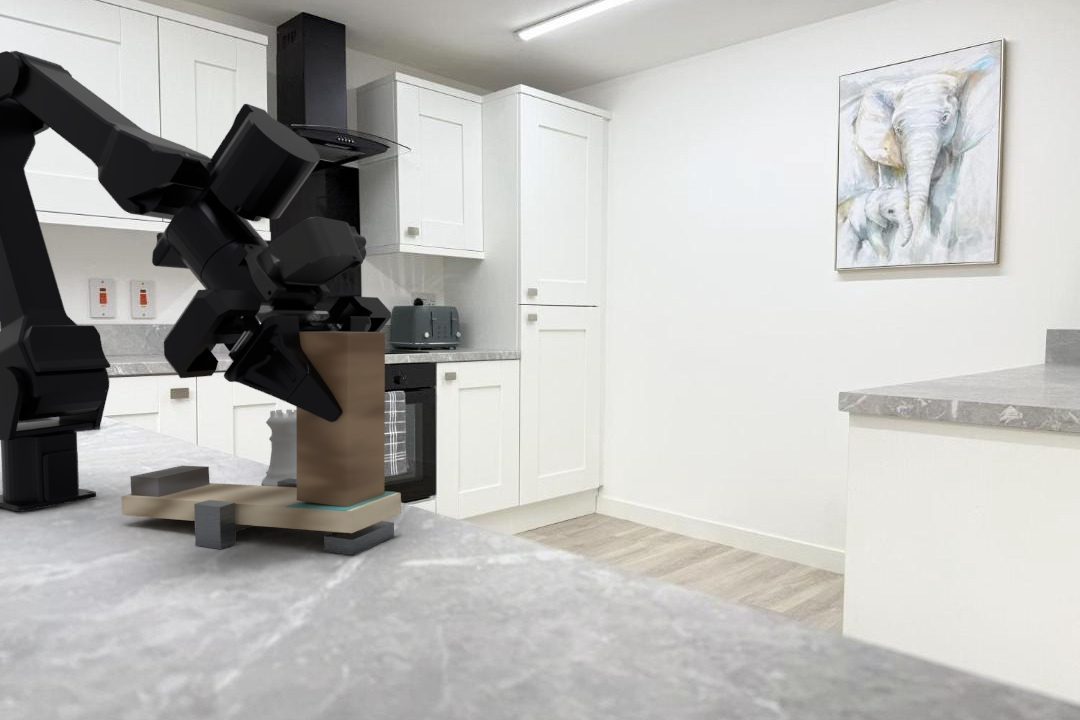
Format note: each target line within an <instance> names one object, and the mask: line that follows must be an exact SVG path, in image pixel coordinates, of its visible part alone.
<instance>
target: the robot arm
mask: <svg viewBox="0 0 1080 720" xmlns="http://www.w3.org/2000/svg"><path fill="white" fill-rule="evenodd" d="M49 129H51V130H52V131H54V132H55V133H56V134H57V135H59V136H60V137H61V138H62V139H64V140H65V141H66V142H67V143H69V144H70V145H71V146H73V147H74V148H75V149H76V150H78V151H79V152H81V154H83V155H84V156H85V157H87V158H88V159H89V160H90V161H91V162H92V163H93V164H94V166H96V167H97V180H98V182H99V184H100V185H101V187H103V189H104V190H105V191H106V192H107V193H108V195H109V196H110V197H111V198H112V199H113V201H115V203H116V204H117V206H119V208H121V209H122V210H123V211H124V212H126V213H128V214H130V215H136V216H144V217H152V218H157V219H164V220H170V222H169V223H168V225H167V226H166V227H165V229H164V231H163V232H158V233H157V234H156V245H155V247H154V248H153V251H152V254H151V255H152V256H151V258H152V259H151V263H152V266H155V267H163V268H175V269H188V270H190V272H191V273H192V274H193V275H194V276H195V278H196V279H197V280H198V282H199V283H200V284H201V286H203V288H204V289H198V290H197V291H196V293H195V294H194V295H193V297H192V298H191V300H190V301H189V303H188V304H187V306H186V307H185V309H183V311H182V313H181V314H180V316H179V317H178V318H177V320H176V322H175V323H174V325H173V326H172V327H171V329H170V330H169V332H168V333H167V334H166V336H165V338H164V340H163V355H164V358H165V360H166V362H167V363H168V364H169V365H170V367H171V368H172V369H173V370H174V372H175V373H176V374H177V376H178V377H179V378H180V379H190V378H201V377H203V378H204V377H212V376H213V375H214V373H215V372H216V370H217V368H218V364H219V360H218V359H217V358H216V356H215V355H214V353H212V351H213V350H214V348H215V347H216V345H224V347H225V348H226V349H227V350H228V351H229V353H228V356H229V358H230V359H231V360H232V362H231V363H230V365H229V366H228V368H227V369H226V370H225V372H224V374H223V377H224V379H225V380H226V381H227V382H230V383H235V382H236V383H239V384H241V385H244V386H247V387H249V388H251V389H254V390H256V391H258V392H262V393H264V394H267V395H269V396H271V397H273V398H277V399H279V400H281V401H283V402H286V403H288V404H290V405H292V406H293V407H298V408H301V409H303V410H305V411H307V412H309V413H312V414H314V415H316V416H318V417H320V418H323V419H325V420H327V421H329V422H335V421H337V419H338V418H339V417H340V416H341V414H342V409H341V407H340V405H339V403H338V402H337V400H336V398H335V397H334V395H333V393H332V392H331V390H330V389H329V387H328V386H327V385H326V383H325V382H324V380H323V379H322V377H321V376H320V374H319V373H318V371H317V370H316V369H315V367H314V366H313V364H312V363H311V361H310V360H309V358H308V357H307V356H306V354H305V353H304V351H303V350H302V348H301V343H300V333H299V332H319V331H347V332H381V331H382V329H384V327H385V326H386V325H387V323H388V322H389V320H390V319H391V318H392V311H390V309H388V307H387V305H385V304H384V303H383V301H381V299H380V298H379V297H375V296H374V297H373V296H354V295H353V296H350V295H349V296H339V298H338V299H337V300H336V302H335V303H334V304H333V306H332V307H331V308H330V309H329V311H326V310H318V309H317V308H316V307H317V305H318V304H320V303H323V302H325V300H326V298H327V297H328V295H330V293H331V290H330V289H329V288H328V287H327V285H326V284H327V283H330V282H332V281H333V280H335V279H336V278H338V277H339V276H341V275H342V274H344V273H345V272H347V271H349V270H351V269H353V270H354V269H357V268H358V267H360V266H361V265H362V264H363V263H364V260H365V259H366V256H367V250H366V245H367V239H366V237H365V236H363V235H360V234H359V233H358V231H357V229H356V227H355V226H351V225H349V223H348V222H346V221H342V220H337V219H332V218H327V217H322V216H313V217H312V216H311V217H308V218H306V219H303V220H302V221H300V222H298V223H296V225H293V227H290V229H288V230H286V231H284V233H282V234H280V236H278V237H276V238H275V239H273V240H272V241H270V242H269V244H268V243H267V242H266V241H265V239H264V238H263V237H262V235H260V233H259V232H258V231H257V230H256V229H255V227H254V226H253V225H252V224H251V223H250V222H249V221H251V222H260V221H261V220H262V219H263V218H264V219H267V220H277V219H279V218H281V216H282V214H283V213H284V212H285V210H286V209H287V208H288V206H289V204H291V202H292V201H293V199H294V197H295V196H296V195H297V194H298V192H299V190H300V188H301V189H302V186H303V185H304V183H305V182H306V181H307V180H308V178H309V176H310V175H311V174H312V172H313V171H314V169H315V168H316V166H317V165H318V164H319V162H320V160H321V158H320V157H321V155H320V154H319V152H318V151H317V149H316V148H315V146H314V145H313V144H312V143H311V142H310V141H309V140H308V139H307V138H305V137H302V136H300V135H299V134H297V133H296V131H293V130H292V129H290V128H289V127H288V126H286V125H285V124H283V123H281V122H280V121H278V120H277V119H274V118H273V117H272V116H271V115H270V114H269V113H268V112H267V111H266V109H262V108H260V107H258V106H256V105H255V106H254V105H251V104H249V103H243V105H242V106H241V108H240V110H239V111H238V112H237V114H236V115H235V118H234V121H233V122H232V126H231V127H230V129H229V130H228V132H227V133H226V135H225V136H224V138H223V139H222V141H221V142H220V144H219V146H218V148H217V149H216V150H215V152H214V154H213V155H212V156H211V157H209V156H208V155H206V154H203V153H201V152H199V151H196V150H194V149H192V148H189V147H187V146H185V145H184V144H183V145H182V144H180V143H178V142H174V141H172V140H170V139H166V138H163V137H161V136H159V135H155V134H153V133H150V132H149V131H146V130H144V129H143V128H141V127H140V126H138V125H137V124H136V123H134V121H132V120H131V119H129V118H128V117H127V116H125V115H124V114H123V113H121V112H120V111H119V110H117V109H116V108H115V107H114V106H112V105H110V104H109V103H108V102H106V101H105V100H103V99H102V98H101V97H100V96H98V95H97V94H96V93H94V92H93V91H92V90H90V89H88V88H87V87H86V86H85V85H83V84H82V83H81V82H80V81H78V80H77V79H75V78H74V77H73V75H72V74H71V73H70V71H68V70H67V69H65V68H64V67H63V66H62V65H61V64H58V63H56V62H53V61H50V60H46V59H43V58H40V57H37V56H33V55H30V54H28V53H25V52H21V51H18V50H12V51H7V50H6V51H2V52H0V454H1V455H0V456H1V457H0V458H1V459H0V460H1V461H0V463H1V483H2V494H0V508H5V509H8V510H12V511H16V512H24V511H31V510H36V509H42V508H47V507H51V506H55V505H62V504H66V503H67V504H68V503H71V502H77V501H82V500H83V501H84V500H86V499H93V498H96V497H97V491H95V490H90V489H85V488H81V487H80V484H79V483H80V480H79V479H80V478H79V452H78V430H79V431H80V430H86V429H99V428H100V427H101V424H102V419H103V416H104V410H105V405H106V402H107V397H108V393H109V389H110V377H109V373H108V370H107V369H110V368H111V364H110V362H109V361H108V359H107V358H106V355H105V352H104V350H103V349H104V348H103V346H102V340H101V339H102V338H101V334H100V332H99V330H97V328H96V327H95V325H90V324H89V325H88V324H87V325H78V324H77V323H76V322H75V320H73V319H71V317H69V316H68V314H67V312H66V309H65V305H64V303H63V299H62V296H61V292H60V289H59V286H58V281H57V279H56V276H55V275H56V274H55V272H54V268H53V264H52V262H51V259H50V255H49V251H48V247H47V245H46V241H45V240H46V239H45V237H44V235H43V231H42V227H41V224H40V220H39V218H38V213H37V211H36V210H37V209H36V207H35V204H34V200H33V196H32V192H31V189H30V185H29V183H28V179H27V176H26V170H25V167H26V165H27V163H28V161H29V159H30V157H31V155H32V153H33V151H34V148H35V146H36V143H37V141H36V137H35V136H37V135H38V134H41V133H43V132H46V131H47V130H49ZM51 418H58V419H51ZM42 419H51V420H44V421H43V420H42ZM36 420H42V421H37V422H36ZM28 421H33V422H28ZM34 421H35V422H34ZM19 422H27V423H19ZM18 423H19V424H18Z"/></svg>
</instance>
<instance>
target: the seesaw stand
mask: <svg viewBox="0 0 1080 720" xmlns="http://www.w3.org/2000/svg"><path fill="white" fill-rule="evenodd" d="M277 487H295V488H297V479H291V478H289V479H285V480H281V481H277ZM194 509H195V521H194V540H195V541H194V543H195V544H194V545H195V546H196V547H203V548H210V549H211V548H212V549H218V550H223V549H226V548H229V547H231V546H234V545H236V544H237V539H236V532H237V531H236V530H235V503H233V502H224V501H216V500H207V501H204V502H200V503H196V504H194ZM394 537H395V522H394V521H386V520H383V521H380V522H378V523H375V524H373V525H371V526H368V527H366V528H363V529H361V530H358V531H356V532H354V533H344V532H330V533H329V534H326V535H324V536H323V538H324V539H323V542H324V544H323V545H324V552H327V553H335V554H342V555H349V556H354V555H356V554H359V553H361V552H363V551H365V550H367V549H369V548H372V547H374V546H376V545H378V544H381V543H383V542H386V541H387V540H390V539H392V538H394Z"/></svg>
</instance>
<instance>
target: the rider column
mask: <svg viewBox="0 0 1080 720" xmlns="http://www.w3.org/2000/svg"><path fill="white" fill-rule="evenodd" d="M299 333H300V343H301V348H302V350H303V351H304V353H305V354H306V356H307V357H308V358H309V360H310V361H311V363H312V364H313V366H314V367H315V369H316V370H317V371H318V373H319V374H320V376H321V377H322V379H323V380H324V382H325V383H326V385H327V386H328V387H329V389H330V390H331V392H332V393H333V395H334V397H335V398H336V400H337V402H338V403H339V405H340V407H341V409H342V414H341V416H340V417H339V418H338V419H337V421H335V422H329V421H327V420H325V419H323V418H320V417H318V416H316V415H314V414H312V413H309V412H307V411H305V410H303V409H301V408H298V407H296V406H295V407H296V409H295V410H296V432H297V501H304V502H312V503H319V504H327V505H334V506H342V507H349V506H352V505H355V504H358V503H361V502H363V501H366V500H369V499H372V498H375V497H377V496H380V495H383V494H384V491H385V457H386V456H385V450H386V449H385V442H386V440H385V436H386V435H385V433H386V431H385V430H386V428H385V427H386V426H385V425H386V424H385V423H386V422H385V420H386V419H385V417H386V414H385V412H386V411H385V410H386V408H385V405H386V403H385V402H386V401H385V400H386V399H385V398H386V397H385V396H386V395H385V393H386V386H385V384H386V383H385V381H386V379H385V377H386V374H385V373H386V364H385V362H386V333H385V332H383V331H382V332H381V331H380V332H347V331H319V332H299Z"/></svg>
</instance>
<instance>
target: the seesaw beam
mask: <svg viewBox="0 0 1080 720" xmlns="http://www.w3.org/2000/svg"><path fill="white" fill-rule="evenodd" d="M129 479H130V493H129V494H126V495H121V496H120V497H121V513H122V516H129V517H142V518H154V519H166V520H168V519H169V520H179V521H180V520H181V521H191V522H193V521H194V522H195V509H194V504H196V503H200V502H204V501H207V500H216V501H224V502H233V503H235V530H236V532H239V531H242V530H245V529H248V528H251V527H269V528H282V529H295V530H296V529H297V530H307V531H321V532H330V533H334V532H344V533H354V532H356V531H358V530H361V529H363V528H366V527H368V526H371V525H373V524H375V523H378V522H380V521H386V520H388V519H389V518H392V517H395V516H397V515H400V514H402V497H401V496H402V495H401V492H396V491H387V490H386V491H385V490H384V494H383V495H380V496H377V497H375V498H372V499H369V500H366V501H363V502H361V503H358V504H355V505H352V506H349V507H342V506H334V505H327V504H319V503H312V502H304V501H297V488H295V487H276V486H261V485H255V484H254V485H252V484H237V483H236V484H232V483H215V482H210V468H209V466H201V465H180V466H179V465H178V466H174V467H168V468H164V469H160V470H155V471H149V472H145V473H141V474H136V475H135V474H134V475H131V476H130V478H129Z"/></svg>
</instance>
